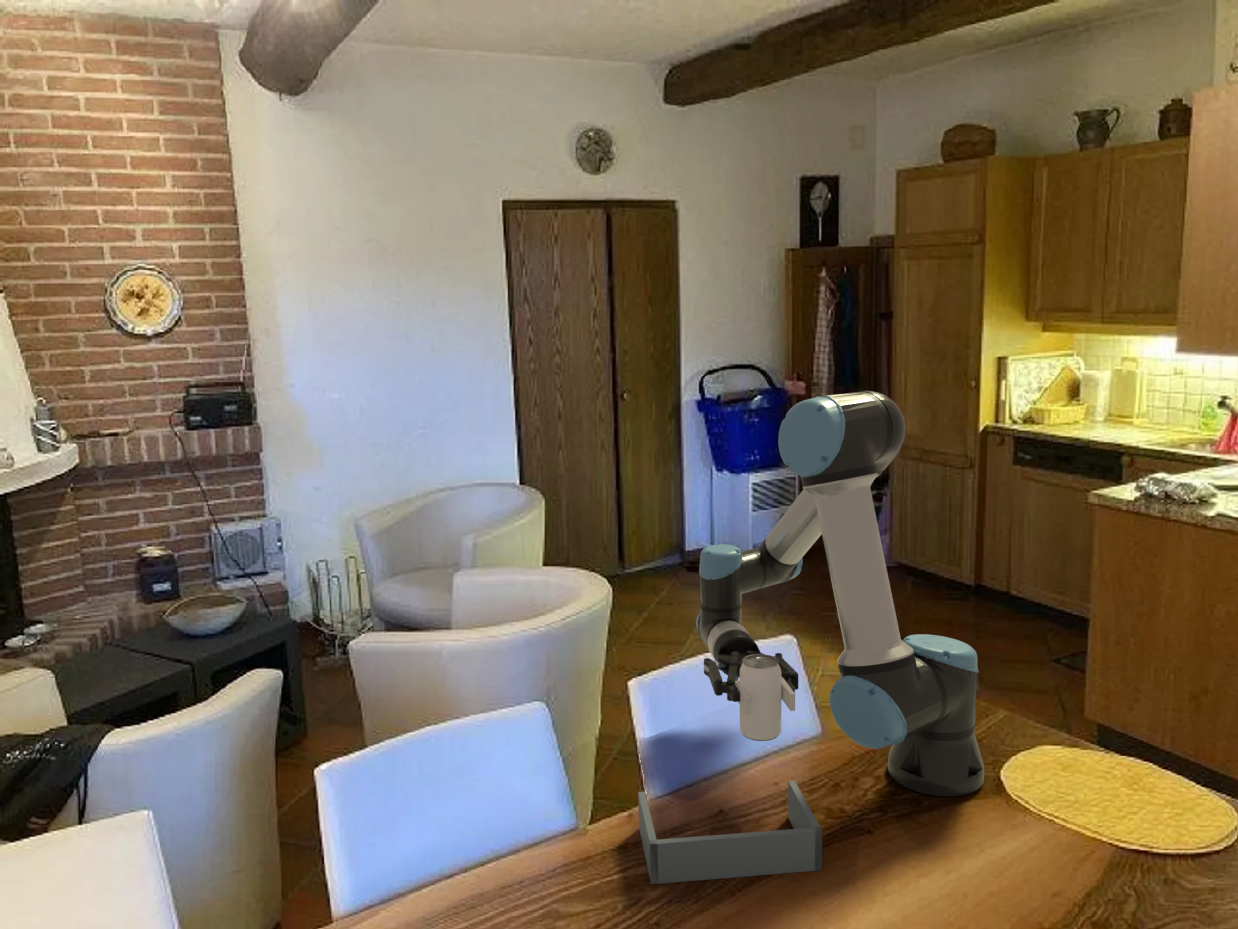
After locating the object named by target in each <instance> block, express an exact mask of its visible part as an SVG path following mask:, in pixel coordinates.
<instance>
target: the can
mask: <svg viewBox="0 0 1238 929" xmlns="http://www.w3.org/2000/svg"><path fill="white" fill-rule="evenodd" d="M773 656H774V655H770V654H765V653H763V654H753V655H749V656H746V657H744V658H743V660H742V662H743V663H742V665H741V667H740V677H739V681H740V685H741V686H742V687H744V688H745V690H746V691H747V693H748V694H749V696H750V699H751V714H750V715H746V714H745V713H744V711H743V709H742V708H741V706H740V705H739V731H740V733H741V734H742V735H743V736H744V737H745V738H747V739H749V740H751V741H756V742H768V741H772V740H775V739H776V738H778V737H779V736H780V735H781V733H782V699H781V669H780V666H779V664H778V663H779V661H778V659H777V658H775V657H773Z"/></svg>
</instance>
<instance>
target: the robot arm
mask: <svg viewBox="0 0 1238 929" xmlns="http://www.w3.org/2000/svg"><path fill="white" fill-rule="evenodd" d="M905 436H906V421H905V418H904V415H903V413H902V411H901V409H900V408H899V406H898V405H897V404H896V402H895V401H894V400H892V399H891V398H889V396H887V395H885V394H883V393H880V392H877V391H872V390H859V391H855V392H847V393H837V394H828V395H821V396H819V395H818V396H816V397H812V398H809V399H805V400H802V401H799V402H797V403H796V404H795V405H793V406H792V407H791V408H789V410H788V411H787V413H786V415H785V418H784V419H782V421H781V423H780V426H779V431H778V450H779V454H780V457H781V459H782V462H783V464H784V465H785V466H786V467H788V470H789V471H790V472H791V473H793V474H795V475H797V476H800V481H801V484H802V485H801V486H802V491H801V492H800V494H799V495H798V496H797V497H796V499H795V500H794V501H793V502H792V504H791V505H790V506H789V508H788V509H787V510H786V512H785V513H784V514H783V515H782V517H781V518H780V519H779V521H778V522H777V523H776V524H775V525H774V527H773V528H772V529H771V531H770V532H769V533H768V534H767V536H766V537H765V538H764V540H763V541H762V542H761V543H760V544H759V546H757V547H755V548H751V549H748V550H743V551H742V550H741V549H740V548H739V547H737V546H735V545H732V544H723V543H722V544H721V543H719V544H712V545H708V546H705V547H703V549H702V550H701V551H700V555H699V556H700V558H699V569H698V574H699V585H700V586H699V589H700V590H699V592H700V605H699V612H698V614H697V616H696V621H695V622H696V623H695V624H696V629H697V633H698V635H699V638H700V639H701V641H702V642H703V643H704V645H705V646H706V648H707V650H708V651H709V653H710V654H711V656H712V658H713V659H714V660H713V659H711V658H709V657H706V658H703V674H704V675H705V676H707V677H708V678H709V682H710V684H711V687H712V689H713V692H714V695H716V696H719V697H720V696H722V695H723V694H726V700H727V701H730V702H734V703H738V705H739V707H740V706H741V708H742V709H743V711H744V713H745V714H746V715H750V714H751V699H750V696H749V694H748V693H747V691H746V690H745V688H744V687H742V686H741V685H740V680H739V679H740V667H741V665H742V663H743V662H742V660H743V658H744V657H746V656H749V655H753V654H764V653H763V652H761V650H760V648H759V646H758V644H757V643H756V641H755V640H754V639H753V637H752V636H751V634H750V633H749V632H748V631H747V629H746V627H744V626H743V624H742V606H743V605H742V603H743V601H742V600H743V596H742V595H743V594H746V593H750V592H753V591H756V590H760V589H764V588H767V587H771V586H775V585H779V584H784V583H788V582H789V581H790V580H793V579H795V578H796V577H798V576H799V575H800V573H801V571H802V567H803V564H804V563H803V557H804V556H805V555H806V553H808V551H809V550H810V549H811V548H812V546H813V545H814V544H815V543H816V542H817V540H819V538H820V537H821V536H822V541H823V546H824V551H825V555H826V556H825V557H826V561H827V566H828V570H829V571H828V572H829V575H830V576H829V577H830V582H831V585H832V586H831V587H832V590H833V591H832V592H833V597H834V601H835V605H836V610H837V611H836V612H837V616H838V620H839V625H840V631H841V636H842V642H843V646H844V649H843V651H842V652H841V653H840V655H839V656H838V658H837V660H836V663H837V667H838V673H839V679H838V680H836V681H835V683H833V685H832V689H831V690H830V692H829V698H828V700H829V707H830V711H831V714H832V716H833V719H834V720H835V722H836V725H837V726H838V727H839V729H840V730H841V731H842V733H844V734H845V735H847V736H848V737H849V739H850V740H851V741H852V742H854V743H855V744H857V745H859V746H861V747H863V748H866V749H871V750H880V749H881V750H882V749H884V748H887V747H889V746H891V747H890V749H889V752H888V756H887V771H888V773H889V775H890V777H891V778H892V779H893V780H894V781H895V782H897V783H898V784H899V785H901V786H902V787H905V788H907V789H908V790H912V791H914V792H917V793H920V794H921V793H922V794H923V795H931V796H936V797H958V796H959V797H961V796H964V795H969V794H972V793H974V792H976V791H978V790H979V789H981V787H982V786H983V785H984V782H985V781H984V780H985V764H984V762H983V758H982V755H981V751H980V748H979V744H978V742H977V739H976V735H975V734H976V733H975V730H976V726H975V725H976V724H975V723H976V710H977V706H976V705H977V693H978V692H977V690H978V673H979V672H980V671H979V669H978V655H977V654H978V653H977V652H976V650H975V649H974V648H973V647H972V646H971V645H969V644H968V643H966V642H964V641H961V640H959V639H957V638H956V639H955V638H951V637H948V636H943V635H935V634H921V633H920V634H917V633H916V634H911V635H907V636H906V637H904V639H903V640H902V639H901V633H900V630H899V629H900V628H899V624H898V619H897V614H896V609H895V603H894V599H893V594H892V590H891V583H890V579H889V574H888V568H887V565H886V559H885V555H884V549H883V545H882V540H881V535H880V530H879V524H878V519H877V515H876V510H875V506H874V500H873V495H872V489H871V486H872V484H873V482H874V480H875V479H876V478H878V477H879V476H881V475H882V473H883V472H884V471H885V470H886V469H887V467H888V466H889V465H890V464H891V463H892V461H893V460H894V459H895V458H896V457H897V455H898V453H899V452H900V450H901V448H902V445H903V444H904V440H905ZM772 656H773V657H775V658H777V659H778V661H779V663H778V664H779V666H780V669H781V701H782V702H783V703H784V704H785V706H786V707H787V708H788V710H789V711H790V712H794V711H796V691H797V690H798V689H799V673H798V672H797V671H796V670H795V669H794V667H792V665H790V663H788V662H787V661H786V660H785V659H784V658H783V653H781V652H775V654H774V655H772ZM720 671H721V672H722V673H723V674H725V675H727V678H726V681H723V677H722V675H721V673H720Z"/></svg>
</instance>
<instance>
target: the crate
mask: <svg viewBox="0 0 1238 929" xmlns="http://www.w3.org/2000/svg"><path fill="white" fill-rule="evenodd" d="M787 788H788V789H787V793H788V794H787V795H788V797H787V799H788V800H787V801H788V802H787V818H788V820H789V822H790V824H791V827H792V828H793V829H792V828H791V829H790V828H789V829H778V830H766V831H763V830H762V831H753V832H752V831H751V832H740V833H737V832H736V833H727V834H726V833H725V834H715V835H712V834H711V835H701V836H687V837H686V836H685V837H676V838H675V837H674V838H673V837H672V838H662V839H657V837H656V836H657V835H656V832H655V829H654V828H655V827H654V823H653V819H652V815H651V812H650V811H651V810H650V807H649V803H648V799H647V795H646V791H638V793H637V795H638V796H637V797H638V798H637V799H638V801H637V803H638V830H639V835H640V838H641V845H642V848H643V852H644V858H645V862H646V866H647V871H648V877H649V882H650V885H657V884H658V885H659V884H668V883H671V884H672V883H680V882H693V881H694V882H695V881H705V880H707V881H708V880H709V881H710V880H718V879H730V878H731V879H732V878H742V877H743V878H744V877H755V876H767V875H781V874H792V873H804V872H816V871H823V867H822V866H823V830H822V827H821V826H820V824H819V822H818V820H817V819H816V817H815V815H814V813H813V811H812V810H811V807H810V806H809V804H808V802H807V800H806V799H805V797H804V795H803V792H802V791H801V790H800V788H799V785H798V784H797V782H796V780H788V784H787Z"/></svg>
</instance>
